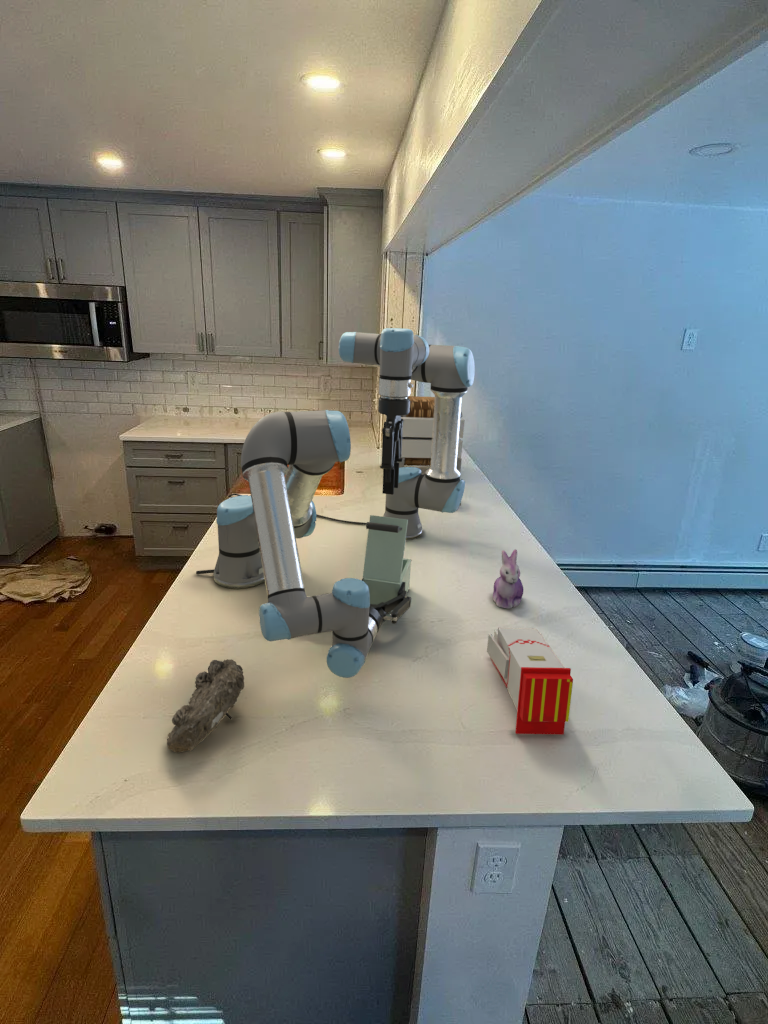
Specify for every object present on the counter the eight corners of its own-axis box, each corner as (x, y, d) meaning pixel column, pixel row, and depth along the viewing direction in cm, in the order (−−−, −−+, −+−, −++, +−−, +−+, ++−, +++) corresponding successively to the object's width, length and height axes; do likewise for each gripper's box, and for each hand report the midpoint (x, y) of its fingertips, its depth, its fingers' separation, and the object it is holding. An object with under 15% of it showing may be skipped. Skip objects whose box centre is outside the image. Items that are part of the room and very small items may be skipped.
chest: (376, 582, 163) (377, 554, 160) (409, 587, 161) (411, 559, 158) (362, 608, 149) (363, 579, 146) (398, 614, 147) (400, 584, 144)
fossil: (192, 660, 117) (244, 628, 112) (224, 691, 120) (276, 661, 115) (142, 746, 98) (202, 712, 93) (182, 779, 101) (242, 748, 96)
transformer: (382, 463, 289) (386, 382, 275) (445, 464, 293) (451, 384, 279) (390, 482, 257) (394, 392, 243) (460, 483, 261) (468, 394, 247)
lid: (371, 515, 146) (363, 514, 138) (408, 519, 144) (402, 519, 136) (363, 577, 146) (355, 579, 138) (400, 582, 144) (394, 585, 136)
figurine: (505, 613, 150) (512, 561, 145) (482, 596, 158) (488, 546, 153) (533, 606, 154) (540, 555, 149) (509, 589, 163) (515, 541, 158)
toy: (534, 612, 132) (582, 675, 102) (529, 665, 135) (574, 741, 105) (482, 611, 131) (516, 674, 102) (478, 664, 134) (510, 740, 105)
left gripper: (315, 633, 132) (343, 590, 153) (409, 649, 128) (425, 602, 148) (315, 604, 130) (343, 565, 150) (411, 620, 125) (427, 576, 146)
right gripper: (402, 404, 125) (397, 503, 133) (416, 392, 141) (411, 481, 150) (369, 401, 127) (367, 499, 135) (387, 390, 143) (383, 478, 151)
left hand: (384, 583), depth 149 cm, fingers closed on chest, 10 cm apart
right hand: (390, 490), depth 142 cm, fingers open, 5 cm apart
